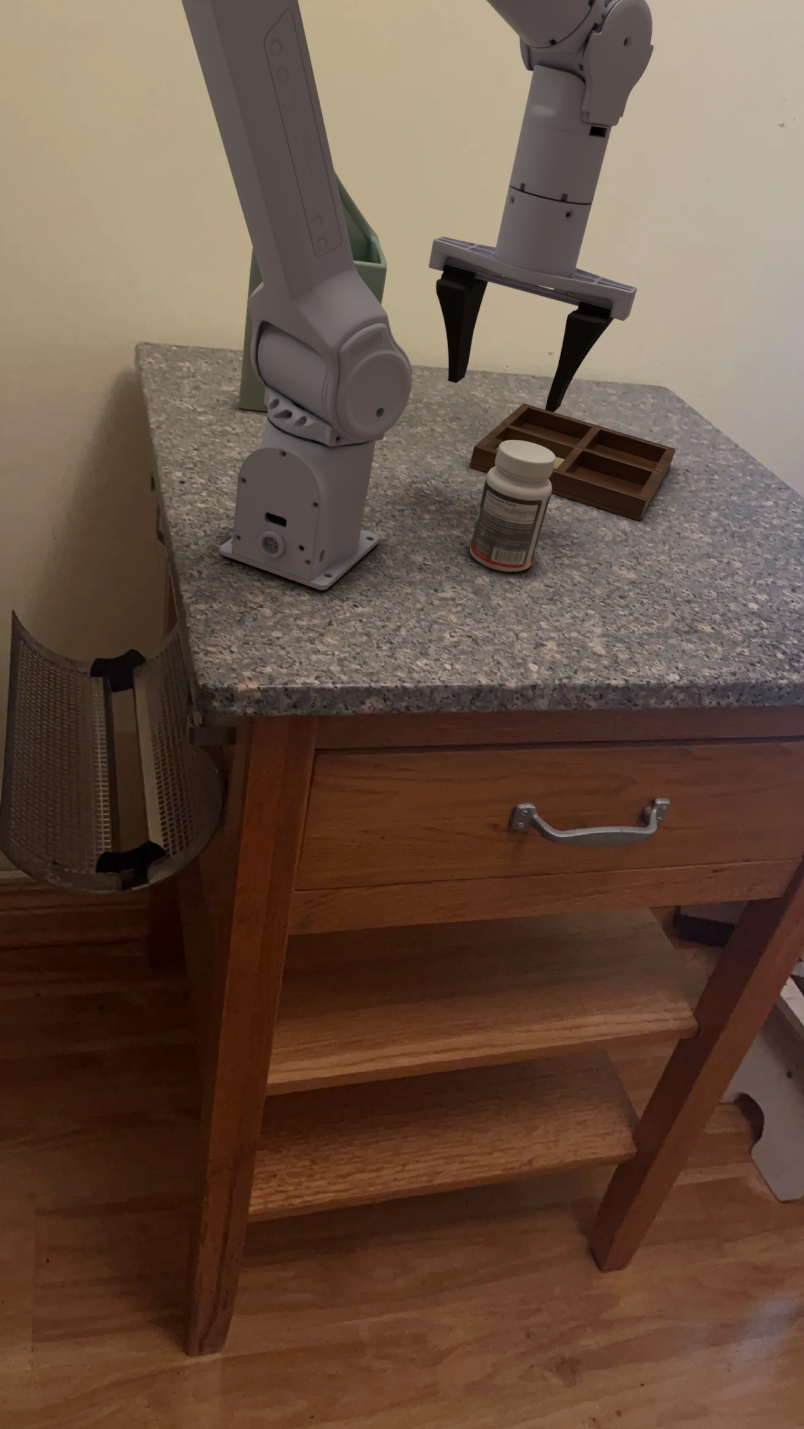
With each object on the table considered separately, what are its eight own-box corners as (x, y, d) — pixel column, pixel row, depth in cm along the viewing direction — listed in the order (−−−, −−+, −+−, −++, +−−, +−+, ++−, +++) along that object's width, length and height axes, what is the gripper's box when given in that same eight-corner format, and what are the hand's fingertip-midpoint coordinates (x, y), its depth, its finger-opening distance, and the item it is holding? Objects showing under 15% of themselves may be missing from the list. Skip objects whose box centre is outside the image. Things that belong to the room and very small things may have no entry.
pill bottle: (492, 537, 79) (518, 432, 74) (543, 563, 77) (573, 456, 72) (456, 553, 75) (480, 444, 71) (508, 580, 73) (537, 469, 69)
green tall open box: (302, 437, 89) (333, 185, 77) (236, 406, 92) (257, 160, 81) (414, 407, 100) (455, 184, 89) (352, 380, 104) (384, 162, 92)
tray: (639, 521, 87) (646, 500, 86) (469, 467, 90) (473, 446, 89) (669, 467, 99) (676, 448, 98) (518, 421, 102) (523, 402, 101)
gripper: (664, 214, 71) (608, 407, 79) (468, 165, 74) (432, 355, 82) (647, 225, 65) (588, 431, 73) (435, 171, 68) (399, 375, 76)
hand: (503, 393), depth 77 cm, fingers open, 7 cm apart
